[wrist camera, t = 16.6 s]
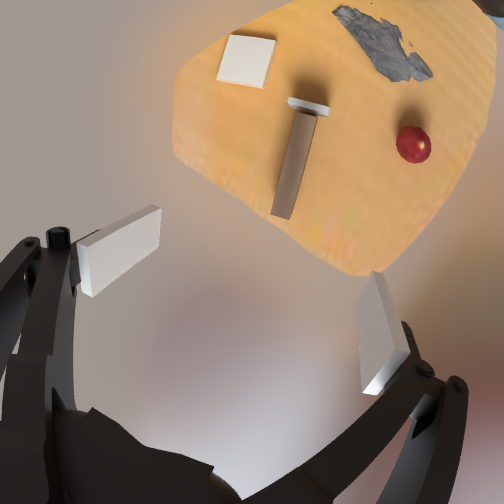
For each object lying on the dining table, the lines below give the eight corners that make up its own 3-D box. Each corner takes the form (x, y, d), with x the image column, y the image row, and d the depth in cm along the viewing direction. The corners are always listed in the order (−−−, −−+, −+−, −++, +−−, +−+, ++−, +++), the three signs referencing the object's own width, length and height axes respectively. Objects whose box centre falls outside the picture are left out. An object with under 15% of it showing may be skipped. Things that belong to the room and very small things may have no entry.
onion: (427, 149, 36) (447, 151, 29) (404, 168, 38) (421, 173, 31) (407, 121, 35) (424, 117, 28) (384, 140, 38) (397, 140, 30)
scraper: (328, 112, 38) (330, 107, 33) (301, 212, 46) (298, 222, 41) (292, 102, 39) (289, 96, 34) (267, 203, 47) (260, 211, 41)
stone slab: (436, 75, 29) (394, 93, 33) (432, 77, 31) (391, 95, 34) (373, -5, 26) (329, 10, 29) (372, 0, 28) (329, 15, 31)
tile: (264, 89, 39) (277, 44, 36) (262, 87, 37) (275, 40, 33) (221, 81, 40) (233, 38, 36) (216, 79, 38) (229, 34, 34)
